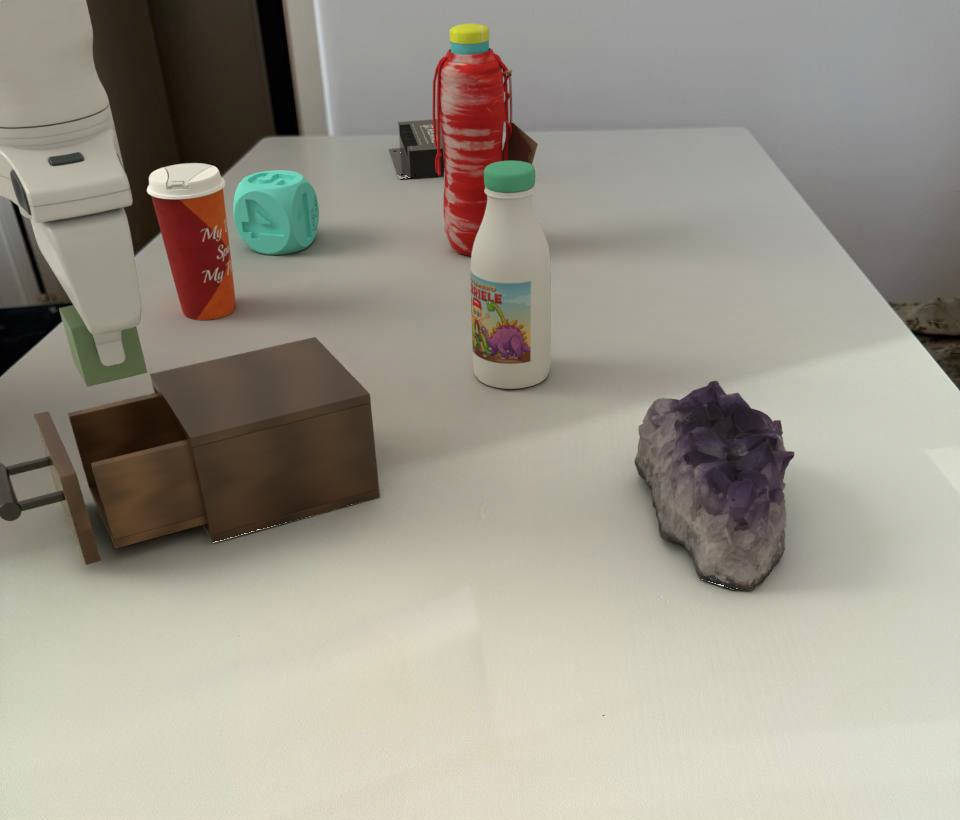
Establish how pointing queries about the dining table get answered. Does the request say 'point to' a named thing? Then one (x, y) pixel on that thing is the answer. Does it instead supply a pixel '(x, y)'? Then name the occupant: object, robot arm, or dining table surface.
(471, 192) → the water bottle
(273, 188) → the decorative dice
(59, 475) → the drawer
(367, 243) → the dining table surface
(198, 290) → the coffee cup
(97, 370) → the block
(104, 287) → the robot arm
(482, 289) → the milk bottle
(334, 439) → the cabinet
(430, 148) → the dark grey box
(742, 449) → the geode
